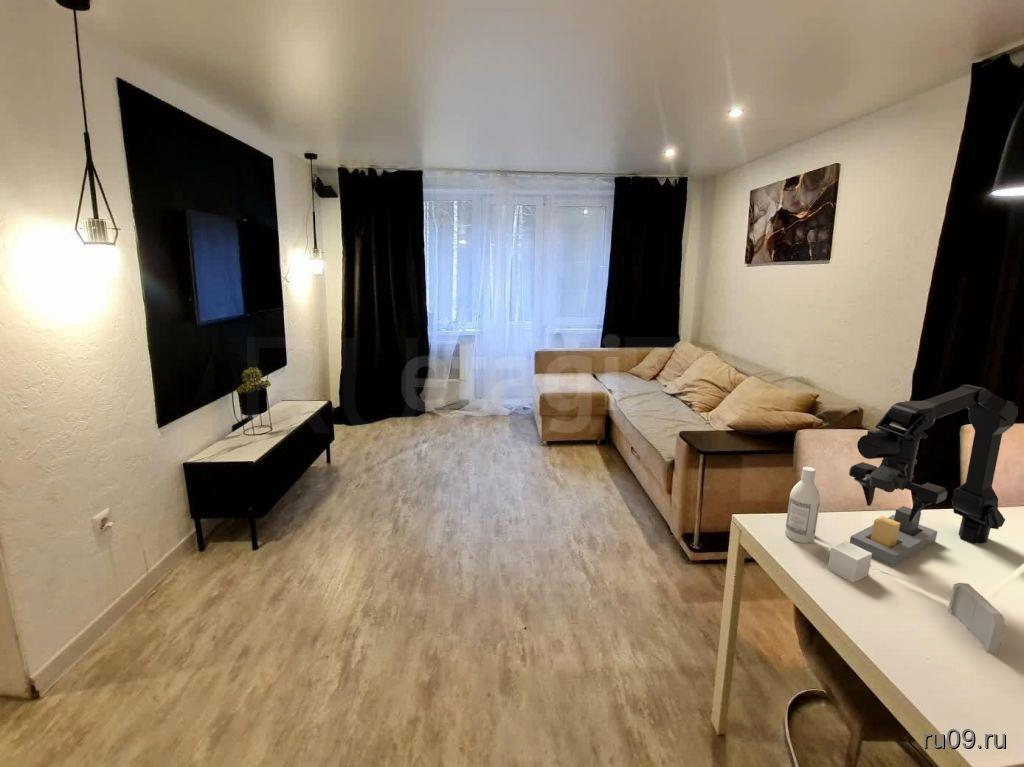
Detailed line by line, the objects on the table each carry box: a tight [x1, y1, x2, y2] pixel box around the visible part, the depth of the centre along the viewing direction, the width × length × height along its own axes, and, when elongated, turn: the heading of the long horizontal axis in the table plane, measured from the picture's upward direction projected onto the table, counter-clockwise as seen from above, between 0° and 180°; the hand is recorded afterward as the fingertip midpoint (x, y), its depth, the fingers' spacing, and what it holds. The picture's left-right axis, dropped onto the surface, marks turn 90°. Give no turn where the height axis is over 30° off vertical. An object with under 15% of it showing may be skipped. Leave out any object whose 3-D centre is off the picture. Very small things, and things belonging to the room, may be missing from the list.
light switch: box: [947, 582, 1006, 655], centre depth 99 cm, size 2×12×8 cm, turn 168°
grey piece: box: [849, 514, 938, 567], centre depth 129 cm, size 22×10×4 cm, turn 119°
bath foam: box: [784, 466, 821, 544], centre depth 132 cm, size 7×7×20 cm
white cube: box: [827, 540, 873, 583], centre depth 119 cm, size 6×6×6 cm
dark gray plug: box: [894, 505, 922, 536], centre depth 131 cm, size 4×4×8 cm
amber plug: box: [871, 515, 900, 548], centre depth 125 cm, size 4×4×8 cm
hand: (889, 513), depth 124 cm, fingers open, 9 cm apart
